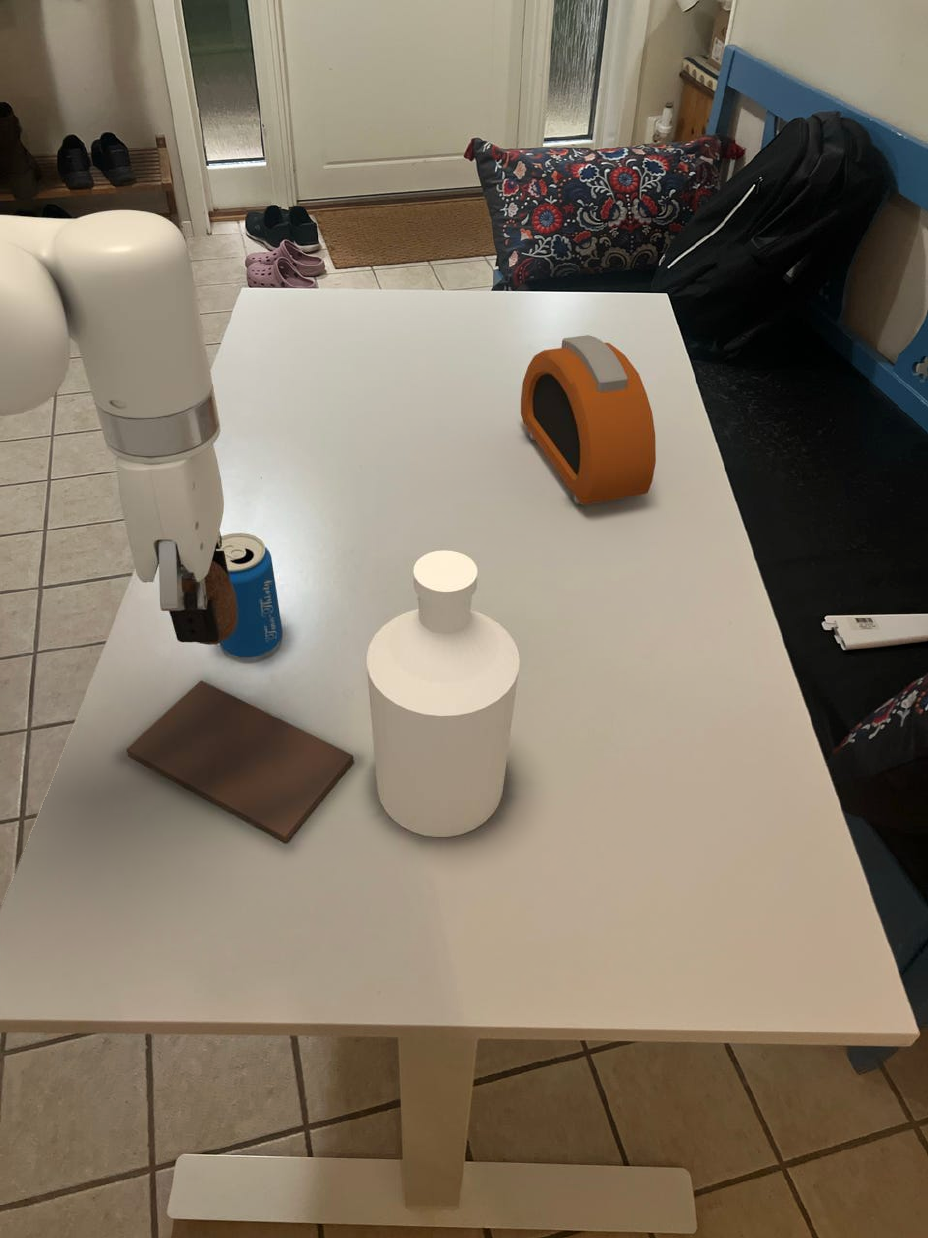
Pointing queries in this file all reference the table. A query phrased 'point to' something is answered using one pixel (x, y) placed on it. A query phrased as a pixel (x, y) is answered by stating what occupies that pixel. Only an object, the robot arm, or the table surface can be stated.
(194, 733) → the walnut board
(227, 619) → the coconut
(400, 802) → the bottle
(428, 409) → the table surface
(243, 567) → the beverage can
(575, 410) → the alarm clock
